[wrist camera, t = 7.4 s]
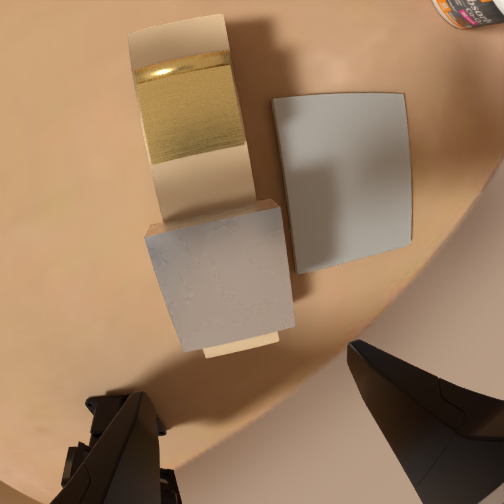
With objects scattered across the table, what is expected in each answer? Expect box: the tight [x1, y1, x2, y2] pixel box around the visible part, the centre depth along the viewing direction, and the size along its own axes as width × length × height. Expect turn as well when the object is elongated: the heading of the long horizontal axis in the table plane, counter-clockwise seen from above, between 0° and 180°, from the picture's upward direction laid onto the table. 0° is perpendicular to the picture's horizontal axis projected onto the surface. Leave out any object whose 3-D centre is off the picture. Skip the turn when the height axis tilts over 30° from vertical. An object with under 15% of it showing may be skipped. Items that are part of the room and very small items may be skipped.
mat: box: [271, 93, 412, 275], centre depth 20 cm, size 12×10×1 cm
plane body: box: [127, 14, 279, 358], centre depth 17 cm, size 20×5×4 cm, turn 10°
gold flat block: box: [134, 50, 245, 165], centre depth 13 cm, size 1×4×5 cm
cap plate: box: [144, 198, 296, 352], centre depth 16 cm, size 7×6×2 cm
